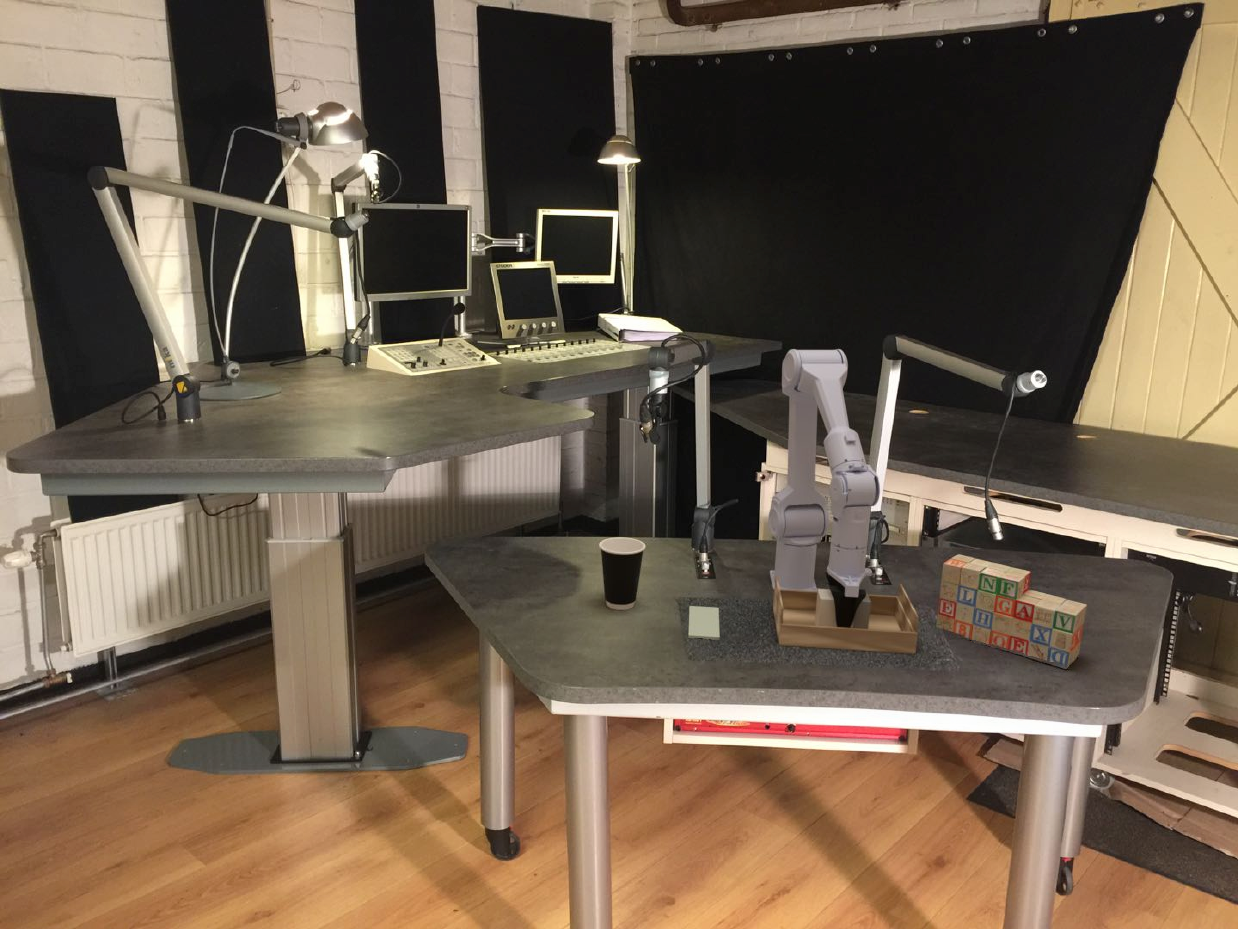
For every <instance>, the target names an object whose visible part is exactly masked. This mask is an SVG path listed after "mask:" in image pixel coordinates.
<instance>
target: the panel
mask: <svg viewBox="0 0 1238 929" xmlns="http://www.w3.org/2000/svg"><path fill="white" fill-rule="evenodd" d="M688 607H689V608H688V609H689V610H688V633H687V634H688V636H687V639H694V638H703V639H702V640H709V639H711V640H713V641H720V640H721V638H720V612H719V609H720V608H719V607H712V606H695V605H689V606H688Z"/></svg>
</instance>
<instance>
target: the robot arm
mask: <svg viewBox="0 0 1238 929" xmlns="http://www.w3.org/2000/svg"><path fill="white" fill-rule="evenodd" d="M781 366H782V367H781V374H782V375H781V387H782V390H781V391H782V392H781V393H782V394H784V395H786V396H788V397H789V403H788V404H789V407H788V408H789V409H788V410H789V411H788V412H789V413H788V415H789V416H788V439H787V441H788V445H787V448H788V449H787V477H786V478H787V479H786V480H787V483H786V486H785V487H783V489H781V490H780V491H778V492H777V493H776V494H774V495H773V496H772V497H771V503H770V510H769V512H768V529H769V532H770V535H771V536H772V537H773V538H774V539H775V540H776V548H775V560H774V562H775V564H774V569H773V570H769V575H770V576H769V577H770V580H771V586H772V589H773V590H774V589H775V578H776V576H777V577H778V582H779V587H780V589H788V590H804V591H818V588H817V585H816V582H815V566H816V556H817V547H818V545H817V544H819V543H821V539H822V538H823V537H825V536H826V534H827V533H828V531H829V527H830V516H829V515H830V514H831V515H832V525H831V526H832V528H831V537H830V539H831V540H830V546H829V547H830V549H829V557H828V558H829V560H828V565H827V567H826V571H825V572H824V575H825V577H826V579H827V583H828V586H829V589H830V591H831V593H832V596H833V598H834V604H835V617H836V624H837V627H844V628H851V625H852V623H853V620H854V617H855V614H856V611H857V609H858V607H859V605H860V603H861V602H862V601H863V599H864V598H865V596H866V592H867V591H866V589H860V585H861V584H862V582H863V580H864V578H865V577H872V575H873V572H872V569H871V568H869V567H866V559H867V551H868V541H869V540H868V539H869V531H870V522H871V520H870V519H871V510H872V507H875V506H877V504H878V502H879V499H880V494H881V486H880V480H879V476H878V474H877V472H876V471H875V470H874V469H873V468H872V465H871V464H867V461H866V457H865V454H864V451H863V447H862V443H861V440H860V436H859V434H858V432H857V431H856V430H854V429H852V428H850V425H849V424H850V423H849V418H848V414H847V408H846V402H845V396H844V390H843V388H844V386H845V383H846V380H847V377H848V368H849V364H848V359H847V356H846V354H845V352H844V351H843V350H842V349H840V348H836V349H795V348H793V349H789V350H788V351H787V353H786V355H785V357H784V359H783V360H782V365H781ZM818 410H819V413H820V415H821V418H822V421H823V423H824V424H823V425H824V427H825V430H826V432H827V435H826V436H825V438H824V439H823V445H824V450H825V454H826V458H827V462H828V466H829V469H830V473H831V479H830V482H829V486H828V487H829V488H828V492H829V493H828V494H829V498H830V514H829V510H828V500H827V497H825V495H824V494H822V493H821V492H820V491H818V490H817V489H816V459H817V457H816V456H817V455H816V454H817V432H818V431H817V428H818V423H817V422H818Z"/></svg>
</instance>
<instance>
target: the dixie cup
mask: <svg viewBox="0 0 1238 929" xmlns="http://www.w3.org/2000/svg"><path fill="white" fill-rule="evenodd" d="M598 546H599V549H600V554H601V566H602V577H603V578H602V580H603V591H604V592H603V593H604V599H605V602H606V607H608V608H609V607H610V608H609V609H611V610H612V609H613V610H618V611H621V610H622V611H625V610H630V609H632V608H633V607H634V606H635V602H636V601H637V595H638V590H639V588H638V587H639V581H640V576H641V569H642V563H643V558H644V557H643V556H644V550H645V549H646V544H645V543H644V542H643V541H641V540H639V539H636V538H631V537H622V536H621V537H620V536H619V537H618V536H617V537H610V538H606V539H602V540H601V541H600V542H599V544H598Z"/></svg>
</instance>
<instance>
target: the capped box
mask: <svg viewBox="0 0 1238 929" xmlns="http://www.w3.org/2000/svg"><path fill="white" fill-rule="evenodd" d="M870 606H871V601H870V599H869V596H868V591H866V596H865V598H864V599H863V601H862V602H861V603H860V605H859V607H858V609H857V611H856V614H855V617H854V620H853V623H852V625H851V628H860V629H868V625H869V616H870ZM815 625H816V626H829V627H837V624H836V617H835V604H834V598H833V596H832V593H831V591H830V588H817V602H816V613H815Z"/></svg>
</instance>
